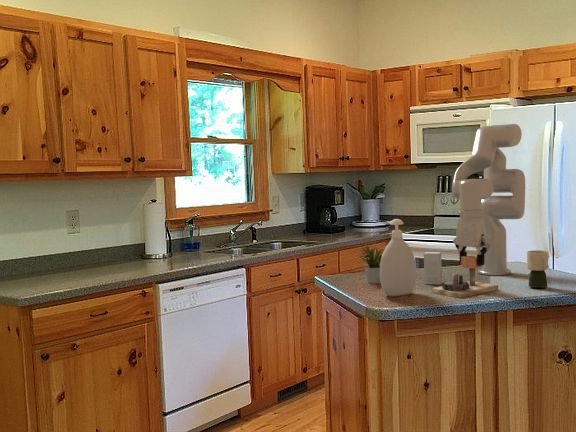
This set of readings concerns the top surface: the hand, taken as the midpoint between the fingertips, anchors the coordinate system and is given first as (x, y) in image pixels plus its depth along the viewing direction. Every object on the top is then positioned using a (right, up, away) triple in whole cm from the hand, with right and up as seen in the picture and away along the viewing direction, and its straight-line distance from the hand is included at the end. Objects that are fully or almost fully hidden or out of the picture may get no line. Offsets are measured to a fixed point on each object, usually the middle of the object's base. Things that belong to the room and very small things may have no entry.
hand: (471, 263), depth 212 cm
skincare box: (-10, -9, +14) cm, 20 cm away
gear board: (-3, -10, -1) cm, 10 cm away
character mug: (+23, -9, -1) cm, 25 cm away
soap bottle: (-27, -11, -2) cm, 29 cm away
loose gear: (0, -1, 0) cm, 1 cm away
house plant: (-33, -9, +22) cm, 41 cm away
